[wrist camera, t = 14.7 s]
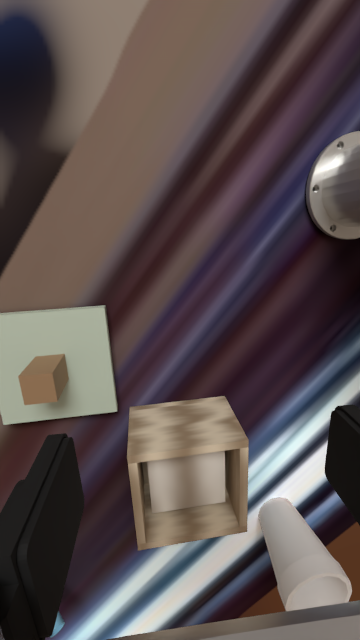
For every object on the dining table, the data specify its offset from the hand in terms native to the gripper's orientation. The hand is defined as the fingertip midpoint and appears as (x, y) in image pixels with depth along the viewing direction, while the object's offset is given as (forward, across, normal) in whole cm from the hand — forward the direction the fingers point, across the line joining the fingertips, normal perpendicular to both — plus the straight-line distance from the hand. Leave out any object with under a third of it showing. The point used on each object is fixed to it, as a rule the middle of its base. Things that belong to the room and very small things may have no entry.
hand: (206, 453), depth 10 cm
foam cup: (+30, -16, +40) cm, 53 cm away
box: (+29, -1, +23) cm, 37 cm away
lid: (+29, +15, +8) cm, 34 cm away
